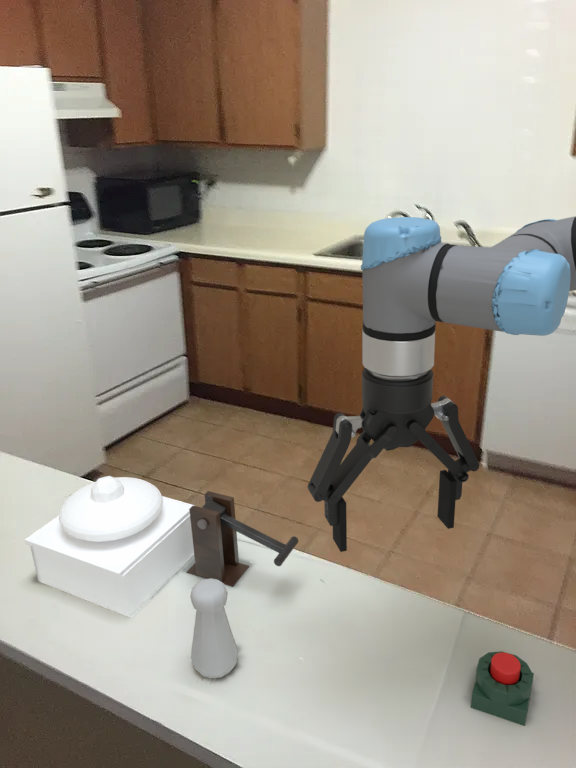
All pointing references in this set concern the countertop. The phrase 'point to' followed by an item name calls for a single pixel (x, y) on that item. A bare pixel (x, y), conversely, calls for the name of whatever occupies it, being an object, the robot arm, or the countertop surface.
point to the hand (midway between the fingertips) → (393, 533)
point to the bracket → (215, 543)
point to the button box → (502, 692)
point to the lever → (254, 533)
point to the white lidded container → (114, 543)
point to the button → (505, 668)
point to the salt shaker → (212, 630)
